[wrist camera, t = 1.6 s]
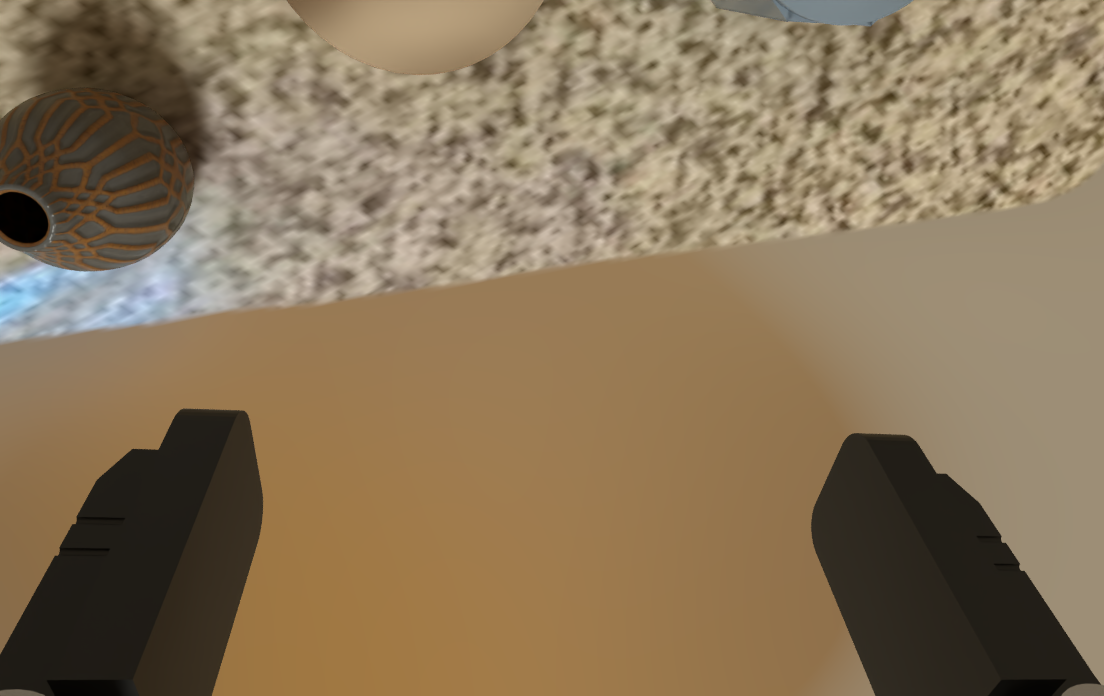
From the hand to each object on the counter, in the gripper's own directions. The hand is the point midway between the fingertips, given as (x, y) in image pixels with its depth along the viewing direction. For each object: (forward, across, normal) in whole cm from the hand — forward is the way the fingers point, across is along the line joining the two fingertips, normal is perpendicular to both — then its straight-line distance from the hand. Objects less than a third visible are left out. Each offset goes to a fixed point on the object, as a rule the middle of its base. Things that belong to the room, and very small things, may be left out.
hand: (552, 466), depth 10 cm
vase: (+26, +16, +8) cm, 31 cm away
